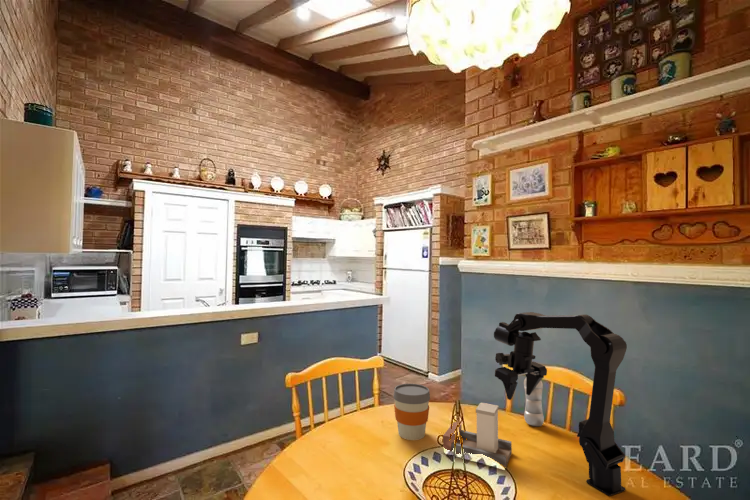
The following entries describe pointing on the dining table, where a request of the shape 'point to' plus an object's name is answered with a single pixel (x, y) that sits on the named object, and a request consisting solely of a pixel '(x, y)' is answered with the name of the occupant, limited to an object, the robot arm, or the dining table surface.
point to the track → (471, 445)
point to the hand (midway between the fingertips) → (518, 397)
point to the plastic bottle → (534, 406)
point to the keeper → (487, 427)
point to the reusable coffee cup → (411, 410)
